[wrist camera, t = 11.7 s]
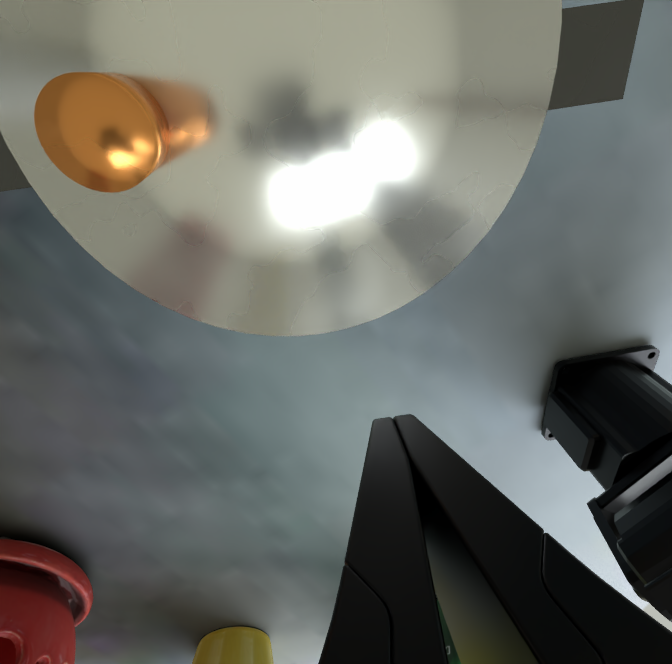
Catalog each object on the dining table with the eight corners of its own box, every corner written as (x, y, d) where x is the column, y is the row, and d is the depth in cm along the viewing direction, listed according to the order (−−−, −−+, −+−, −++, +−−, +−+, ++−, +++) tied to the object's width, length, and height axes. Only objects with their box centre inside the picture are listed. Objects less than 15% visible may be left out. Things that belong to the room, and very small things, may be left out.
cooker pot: (551, -174, 13) (726, -346, 8) (508, 236, 20) (586, 284, 15) (-79, -100, 12) (-334, -237, 7) (108, 301, 19) (47, 375, 14)
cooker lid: (594, -385, 7) (727, -576, 5) (506, 286, 14) (545, 323, 12) (-193, -309, 6) (-415, -492, 4) (132, 349, 14) (106, 398, 12)
